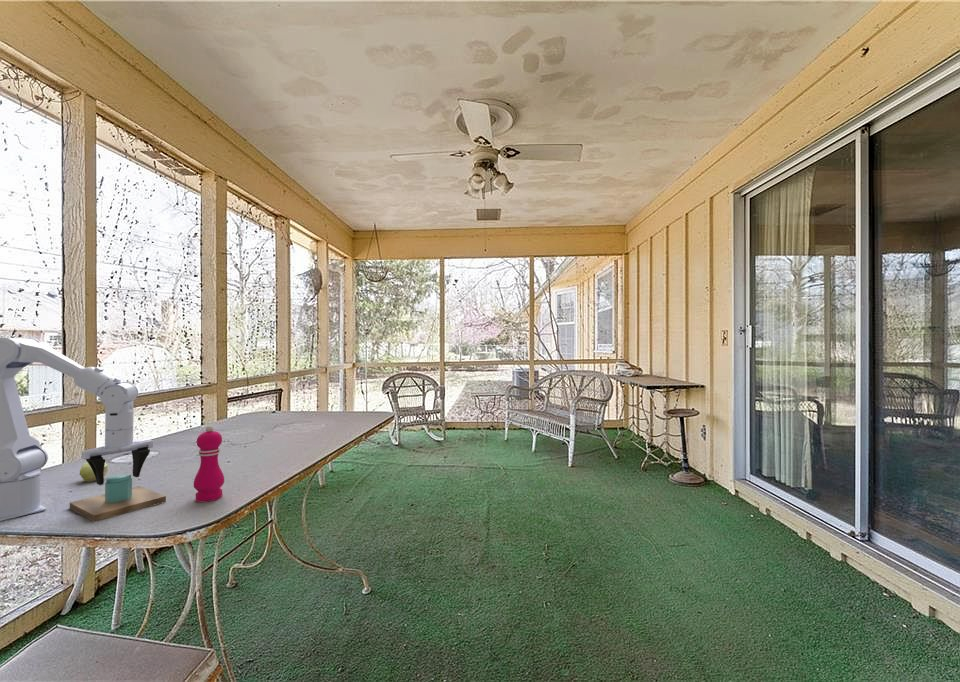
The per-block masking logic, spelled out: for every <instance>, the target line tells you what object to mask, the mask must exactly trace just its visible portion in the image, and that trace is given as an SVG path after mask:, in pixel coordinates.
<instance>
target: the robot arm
mask: <svg viewBox="0 0 960 682" xmlns="http://www.w3.org/2000/svg"><path fill="white" fill-rule="evenodd" d="M33 363H35V364H36V363H37V364H38V363H39V364H42V365H44V366H47V367H48V368H51V369H53V370H55V371H57V372H59V373H62V374H63V375H66V376H69V377H70V378H72V379H73V384H74V386H77V387H78V388H81V389H82V390H85V391H86V392H88V393H90V394H93V395H94V396H96V397H98V398H99V400H100V402H101V403H102V404H103V405H104V408H105V409H104V411H105V412H104V413H105V414H104V415H105V419H104V420H105V423H104V446H99V447H95V448H90V449H85V450H84V449H83V450H81V459H82V460H85V461H86V463H87V462H88V464H89V465H90V467H91V468H92V470H93V472H94V475H95V478H96V480H95V481H96V485H98V486H103V485H105V476H104V465H105V463H106V459H105V458H104V457H103V456H108V455H115V454H119V453H125V452H131V456H132V457H131V458H132V477H134V478H138V477H139V478H140V475H141V471H142V468H143V465H144V464H145V462H146V460H147V458H148V456H149V455H150V453H151V452H150V451H151V449H152V448H153V447H154V440H151V439H147V440H139V441H134V415H135V413H134V411H135V409H134V401H135V400H136V399H137V398H138V396H139V389H138V388H137V386H135V384H133V383H132V382H130V381H123V382H121V380H122V379H121V378H119V377H113V376H111V375H110V374H108V373H106V372H104V369H103V368H102V367H98V366H97V367H96V366H88V367H84V366H83V365H81V364H79V363H78V362H76V361H74V360H72V359H71V358H69V357H67V356H66V355H65V354H63V353H61V352H59V351H57V350H56V349H54V348H53V347H51V346H50V345H49V344H48V343H45V342H41V341H40V340H39V339H36V338H33V337H25V338H22V337H21V338H18V337H17V338H16V337H14V338H13V337H11V338H10V337H0V522H2V521H6V520H9V519H14V518H18V517H22V516H26V515H32V514H36V513H39V512H44V511H47V507H45V506H43V505H42V504H41V473H42V468H44V466H45V465H47V462H48V461H49V456H48V453H47V451H46V450H45V449H44V448H43V447H42V445H41V443H40V440H38V439H36V438H34V437H33V436H31V434H30V430H29V427H28V424H27V420H26V416H25V413H24V408H23V406H22V402H21V398H20V394H19V390H18V387H17V384H16V380H15V377H16V376H17V374H19V372H21V371H22V369H24V368H26V367H28V366H29V365H32V364H33Z"/></svg>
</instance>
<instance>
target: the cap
mask: <svg viewBox="0 0 960 682" xmlns="http://www.w3.org/2000/svg"><path fill="white" fill-rule="evenodd" d="M132 488H133V478H132V474H125V473H124V474H117V475H112V476H109V477H107V478H105V481H104V494H105V502H107V503H115V502H121V501H125V500H128V499H130V498H131V497H132Z"/></svg>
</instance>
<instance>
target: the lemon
mask: <svg viewBox="0 0 960 682" xmlns="http://www.w3.org/2000/svg"><path fill="white" fill-rule="evenodd" d="M108 471H109V466H108V464H107V463H106V462H105V465H104V477H106V475H107V473H108ZM79 476H80V477H81V478H82V480H84V481H86V482H87V483H89V482H94V481H96V478H95V475H94V472H93V470H92V468H91V467H90V465H89V464H88V462H87V461H86V462H85V463H83V465H82V466H81V468H80V470H79Z"/></svg>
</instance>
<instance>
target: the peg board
mask: <svg viewBox="0 0 960 682" xmlns="http://www.w3.org/2000/svg"><path fill="white" fill-rule="evenodd" d="M162 502H163V503H165V502H167V496H166V495H165V494H161V493H159V492H156V491H154V490H151V489H148V488H145V487H143V486H140V485H139V486H134V487H133V486H132V497H131V498H130V499H128V500H125V501H121V502H115V503H107V502H105V493H104V494H99V495H95V496H91V497H88V498H82V499H78V500H74V501H70V502H69V509H70V510H72V511H74V512H76V513H77V514H79V515H81V516H83V517H85V518H87V519H88V520H91V521H92V522H98V521H101V520H105V519H109V518H111V517H116V516H120V515H123V514H126V513H130V512H134V511H136V510H141V509H145V508H148V507H147V506H149V507H151V505H152V506H154V504H156V505H158V503H159V504H162ZM144 507H145V508H144Z"/></svg>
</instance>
